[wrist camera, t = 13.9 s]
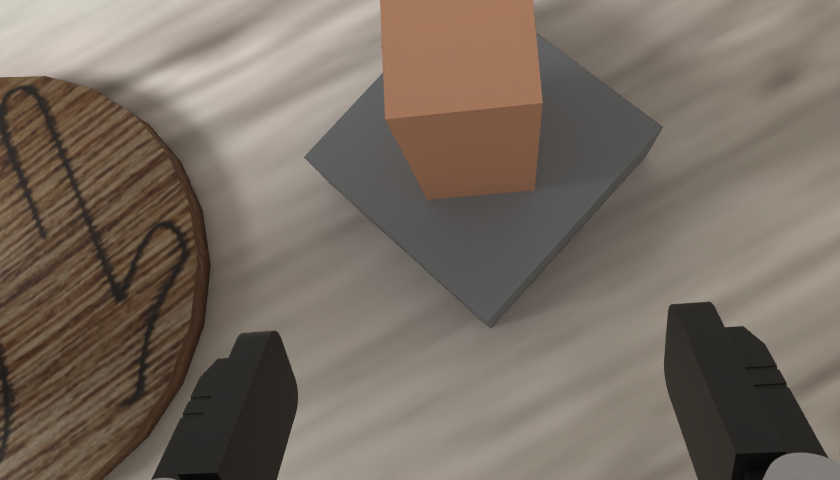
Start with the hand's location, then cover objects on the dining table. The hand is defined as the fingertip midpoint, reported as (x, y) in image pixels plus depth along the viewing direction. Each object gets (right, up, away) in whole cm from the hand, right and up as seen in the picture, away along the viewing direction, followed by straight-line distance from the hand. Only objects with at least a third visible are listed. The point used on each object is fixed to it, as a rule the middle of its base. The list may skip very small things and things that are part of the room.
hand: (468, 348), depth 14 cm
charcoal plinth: (+2, +6, +21) cm, 22 cm away
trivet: (-25, -1, +25) cm, 35 cm away
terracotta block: (+2, +7, +17) cm, 19 cm away
